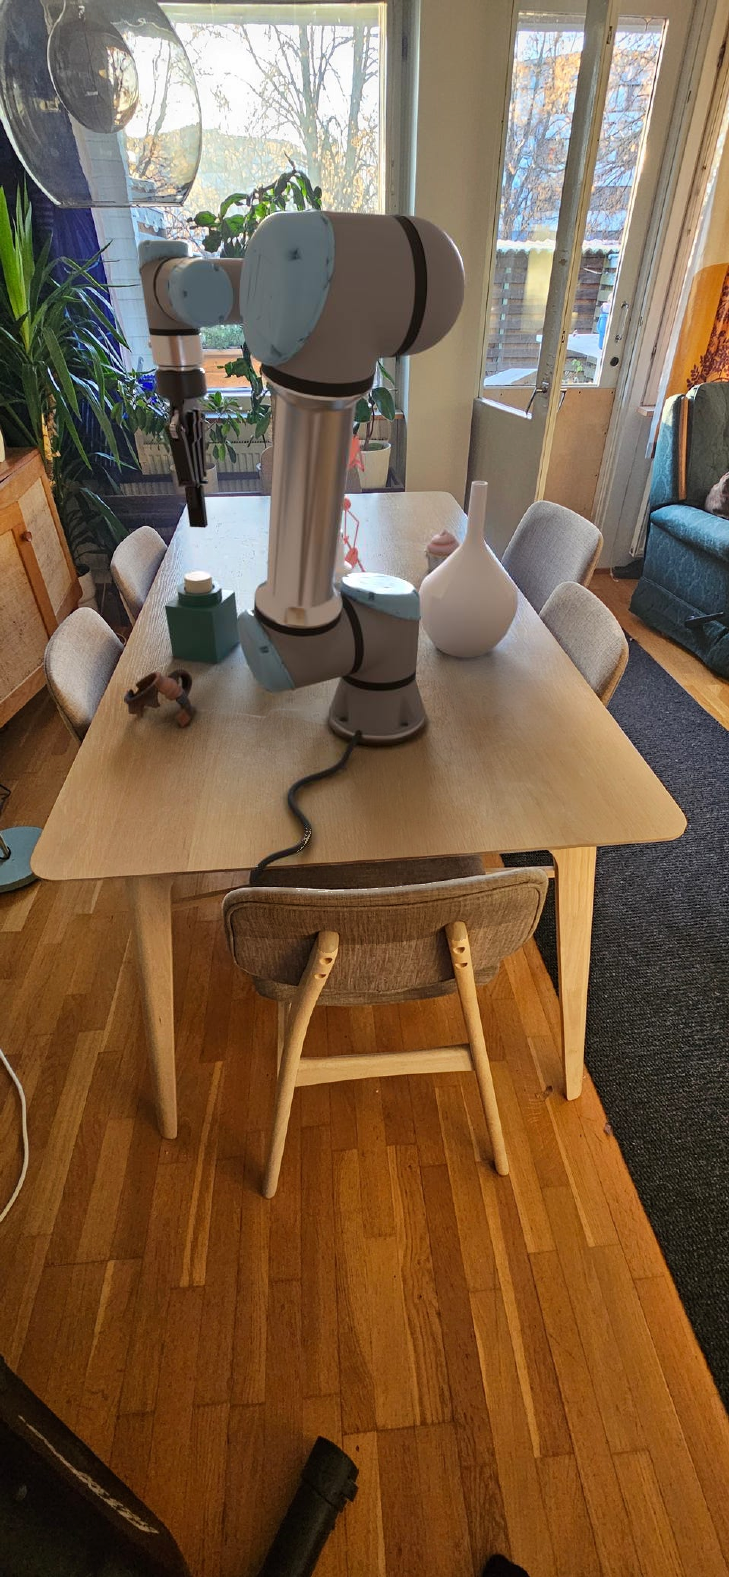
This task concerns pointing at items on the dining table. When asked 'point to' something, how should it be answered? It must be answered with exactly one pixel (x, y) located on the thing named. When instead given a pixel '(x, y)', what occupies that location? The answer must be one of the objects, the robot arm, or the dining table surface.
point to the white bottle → (341, 564)
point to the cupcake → (440, 549)
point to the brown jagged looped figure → (167, 687)
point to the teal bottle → (202, 624)
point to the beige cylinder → (198, 582)
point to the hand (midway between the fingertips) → (198, 525)
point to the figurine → (353, 552)
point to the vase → (468, 592)
